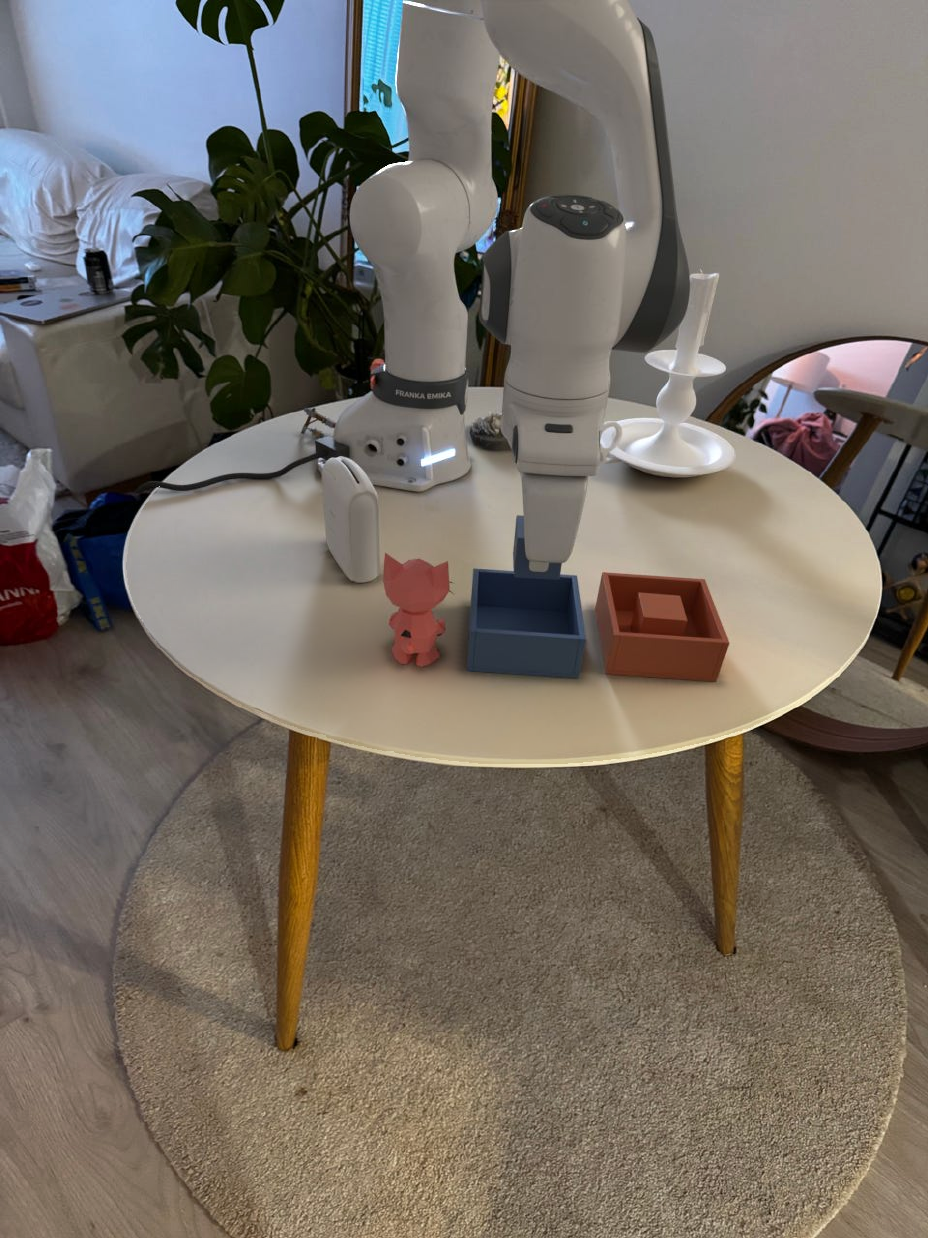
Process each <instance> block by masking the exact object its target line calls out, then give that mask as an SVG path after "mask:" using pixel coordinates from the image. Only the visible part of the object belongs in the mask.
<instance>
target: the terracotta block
mask: <svg viewBox="0 0 928 1238" xmlns="http://www.w3.org/2000/svg"><path fill="white" fill-rule="evenodd" d="M686 624H687V618H686V614H685V611H684V607H683V604H682V600H681V597H680V596H676V595H664V594H652V593H638V597H637V601H636V605H635V610H634V614H633V618H632V622H631V629H632V633H640V634H654V635H668V636H683V634H684V631H685V627H686Z"/></svg>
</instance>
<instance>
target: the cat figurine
mask: <svg viewBox="0 0 928 1238" xmlns="http://www.w3.org/2000/svg"><path fill="white" fill-rule="evenodd" d="M383 555H384V557H383V571H382V572H383V573H382V574H383V575H382V583H383V587H384V592H385V596H386V597H387V598H388V600H389V601H390V602H391V604H392V605H393V606H395V607H398V611H395V612H393V613H391V616H390V618H389V620H388V626H390V628H391V629H392V630H393V637H394V645H393V646H392V647H391V649H390V650H391V653H392V655H393V657H394V658H393V659H395V661H397V662H398V663H399V664H400V665H406V664H408V663H409V662H410V661H411V659H412V657H413V656H412V655H413V654H417V655H416V657H415V664H416V666H417V667H420V668H422V667H426V666H429V665H431V664H433V663H434V662H435V661H437V660H438V659H439V658H440V657H441V654H440V649H439V648H437V646H435V644H436V643H437V639H438V637H440V636H442V635H443V634H445V632H446V621H444V620H443V619H442V618H440V617H438V619H437V621H436V619H435V616H434V614H433V611H432V610H433V609H434V608H436V607H437V606H438V605H439V604H440V603H442V602H443V601H444V600H445V598H446V596H447V595H448V593H449V592H450V593H451V594H453V595H454V596H455V595H456V594H455V593H453V591H451V587H450V583H451V584H456V583H455V582H452V581H450V573H449V561H448V560H446V561H444V562H442V563H440V564H437V565H435V566H434V565H432V564H431V563H429V561H426V560H424V559H421V558H413V559H408V560H406V561H405V562H403V563H401V562H400V561H398V560H397V559H395V558H394V557H392V556H391V555H390V554H388V553H387V552H384V554H383Z"/></svg>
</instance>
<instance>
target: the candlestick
mask: <svg viewBox="0 0 928 1238" xmlns="http://www.w3.org/2000/svg"><path fill="white" fill-rule="evenodd" d="M699 271H700V272H701V273H691V274H689V275H690V295H689V302H688V307H687V311H686V314H685V317H684V319H683V321H682V322H681V323H680V325H679V328H678V333H677V334H678V335H677V339H676V343H675V348H676V349H661V350H654V351H651V352H648V353H646V355H645V356H644V361H645V362H646V363H647V364H648V365H649V366H651V367H653V368H654V369H657V370H659V371H663V372H665V373H667V374H668V375H669V378H668V381H667V382H666V384H665V385H664V386H663V387H662V388H661V389H660V391H659V393H658V394H657V397H656V403H655V404H656V405H655V406H656V410H657V414H658V416H659V417H660V418H658V417H636V418H635V417H634V418H627V419H621V420H617V421H614V420H608V421H604V425H603V431H602V437H601V440H600V459H599V461H601V462H602V463H604V464H616V463H621V462H623V463H624V464H625V465H628V466H629V467H631V468H633V469H636V470H639V471H641V472H642V473H647V474H650V475H653V476H659V477H664V478H665V477H666V478H691V477H699V476H703V475H707V474H712V473H713V474H714V473H718V472H720V471H723V470H725V469H728V468H729V467H730V466H732V465H733V464H734V462H735V460H736V457H737V455H736V450H735V449H734V447H733V446H732V445H731V443H729V442H728V441H727V440H726V439H725V438H724V437H722V436H720V435H719V434H717V433H715V432H713V431H711V430H709V429H707V428H704V427H701V426H699V425H695V424H692V423H687V422H685V421H686V420H688V418H689V417H690V416H692V414H693V412H694V411H695V409H696V406H697V397H696V392H695V388H694V380H695V379H696V378H704V377H714V376H718V375H721V374H724V372H726V370H727V366H726V365H725V364H724V362H722V361H721V360H719V359H717V358H715V357H712V356H710V355H707V354H704V353H701V352H700V353H699V350H700V347H703V346H704V345H705V342H704V341H705V337H706V333H707V329H708V324H709V320H710V316H711V312H712V307H713V303H714V299H715V294H716V291H717V287H718V283H719V279H720V273H719V272H713V273H703V271H702V269H701V268H700V269H699ZM608 454H610V455H612V456H613V457H608Z"/></svg>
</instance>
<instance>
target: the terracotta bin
mask: <svg viewBox="0 0 928 1238" xmlns="http://www.w3.org/2000/svg"><path fill="white" fill-rule="evenodd" d="M638 593H652V594H664V595H676V596H680V597H681V600H682V604H683V607H684V611H685V614H686V618H687V624H686V627H685V631H684V634H683V636H668V635H654V634H640V633H632V629H631V622H632V618H633V614H634V610H635V605H636V601H637V597H638ZM594 607H595V608H594V611H595V617H596V623H597V629H598V635H599V642H600V648H601V654H602V659H603V660H602V661H603V665H604V671H605V674H606V675H615V676H629V677H630V676H631V677H641V678H642V677H643V678H644V677H645V678H656V679H657V678H658V679H671V680H686V681H687V680H688V681H701V682H702V681H703V682H716V683H717V681H718V678H719V675H720V672H721V669H722V667H723V664H724V662H725V658H726V655H727V653H728V649H729V647H730V641H729V638H728V635H727V632H726V630H725V628H724V625H723V622H722V620H721V617H720V615H719V612H718V609H717V606H716V605H715V602H714V599H713V597H712V594H711V591H710V589H709V587H708V583H707V581H706V579H705V578H695V577H694V578H693V577H679V576H678V577H677V576H663V575H651V574H634V573H619V572H608V571H607V572H606V571H605V572H604V571H602V572H601V576H600V581H599V587H598V592H597V597H596V602H595V606H594Z"/></svg>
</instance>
